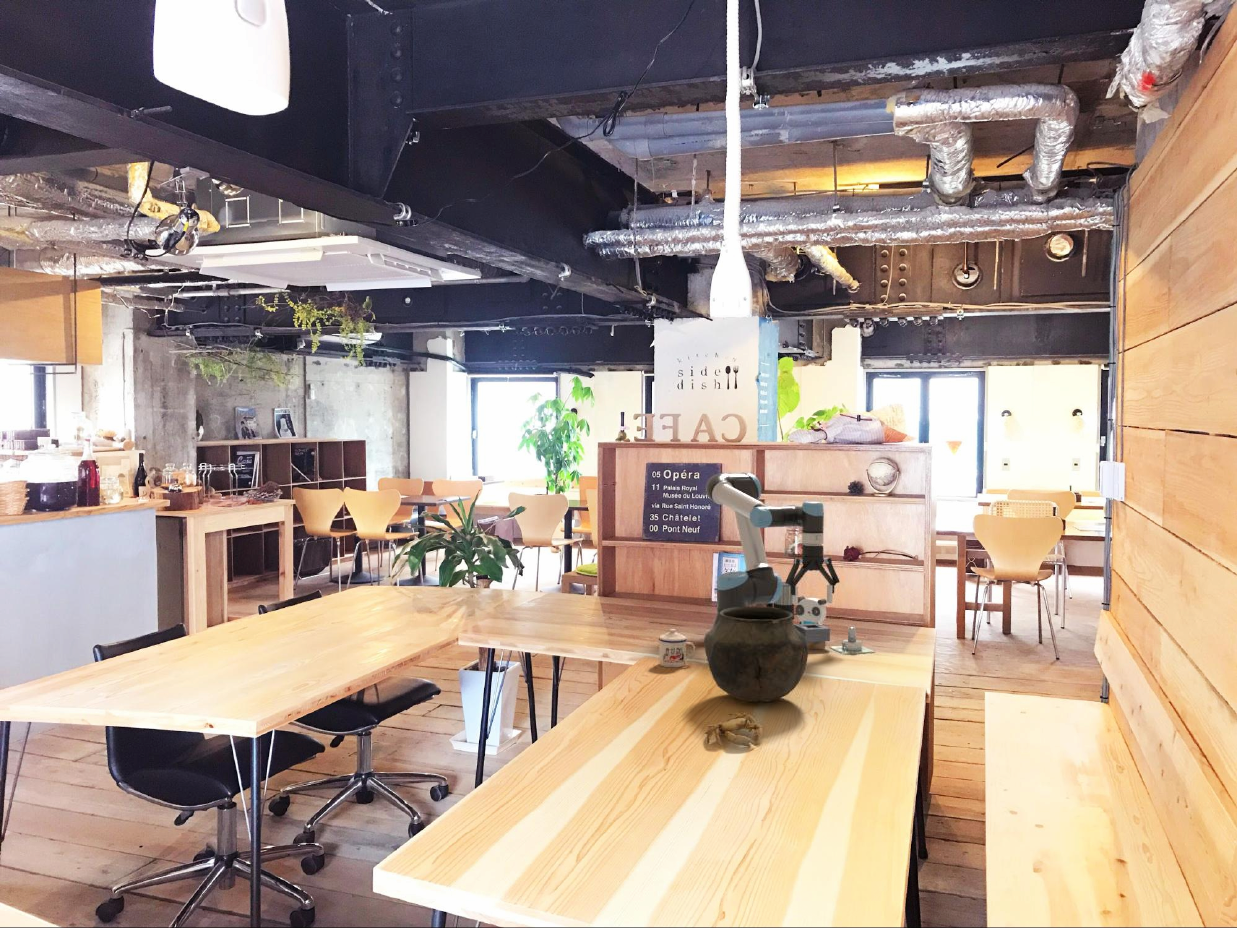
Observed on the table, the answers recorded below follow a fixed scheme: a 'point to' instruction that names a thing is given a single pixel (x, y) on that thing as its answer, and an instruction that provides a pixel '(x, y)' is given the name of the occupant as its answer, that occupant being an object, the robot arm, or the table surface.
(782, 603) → the milk frother
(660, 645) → the teacup with lid
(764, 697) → the pot
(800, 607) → the panda figurine
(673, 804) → the table surface
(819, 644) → the stand
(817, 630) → the grey square block
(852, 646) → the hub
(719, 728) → the crab model
